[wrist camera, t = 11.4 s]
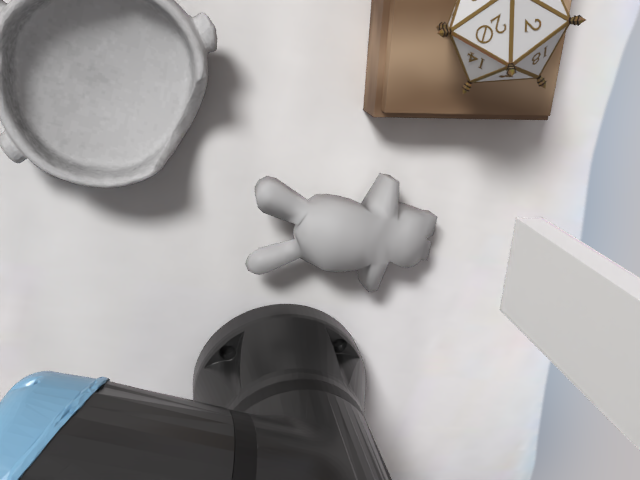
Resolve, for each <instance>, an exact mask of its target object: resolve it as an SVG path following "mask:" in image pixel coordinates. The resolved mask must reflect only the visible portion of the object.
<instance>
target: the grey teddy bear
mask: <svg viewBox="0 0 640 480" xmlns="http://www.w3.org/2000/svg"><path fill="white" fill-rule="evenodd" d="M255 196H256V201H257V205H258V208H259V209H260V210H261V211H262V212H263V213H266V214H268V215H271V216H274V217H277V218H280V219H283V220H285V221H288V222H291V223H294V224H295V227H294V230H293V232H294V239H292V240H288V241H284V242H280V243H276V244H272V245H268V246H264V247H260V248H258V249H257V250H256V251H254V252H253V253H251V254H250V255H249V256H248V258H247V260H246V266H247V269H248V271H250V272H252V273H254V274H258V275H260V274H264V273H268V272H270V271H272V270H274V269H277V268H279V267H281V266H283V265H285V264H288V263H290V262H292V261H294V260H296V259H299V258H301V259H303V260H305V261H307V262H309V263H310V264H312V265H314V266H316V267H318V268H320V269H322V270H325V271H333V272H344V271H353V270H357V271H358V278H359V281H360V283H361V284H362V285H363V286H364V287H365V289H366V290H367V291H368V292H373V291H377V289H378V287H379V285H380V282H381V280H382V277H383V275H384V273H385V270H386V268H387V266H388V263H389V261H390V262H392V263H394V264H396V265H398V266H400V267H405V268H409V267H412V266H415V265H416V264H417V263H418V262H420V261H421V260H427V259H428V255H429V250H430V246H431V242H430V241H429V240H427V239H426V238H428V237H430V236H432V235H433V233H434V229H435V224H436V220H437V216H436V215H434V214H433V213H431V212H430V211H428V210H421V209H418V208H416V207H413V206H410V205H407V204H403V203H398V202H399V181H397V180H396V179H394V178H393V177H391V176H390V175H387V174H382V173H379V175H378V177H377V178H376V180H375V182H374V183H373V185H372V187H371V188H370V190H369V192H368V193H367V195H366V197H365V198H364V200H363V201H362V203H361V204H360V203H358V202H356V201H354V200H351V199H349V198H345V197H341V196H337V195H330V194H316V195H314V196H312V197H311V198H309V199H308V200H307V199H306V198H304V197H303V196H301V195H300V194H298V193H297V192H296V191H294V190H293V189H291V188H290V187H288V186H287V185H285V184H284V183H282V182H281V181H280V180H278V179H277V178H273V177H269V176H266V177H264V178H262V179H259V181H258V182H257V184H256V186H255Z"/></svg>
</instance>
